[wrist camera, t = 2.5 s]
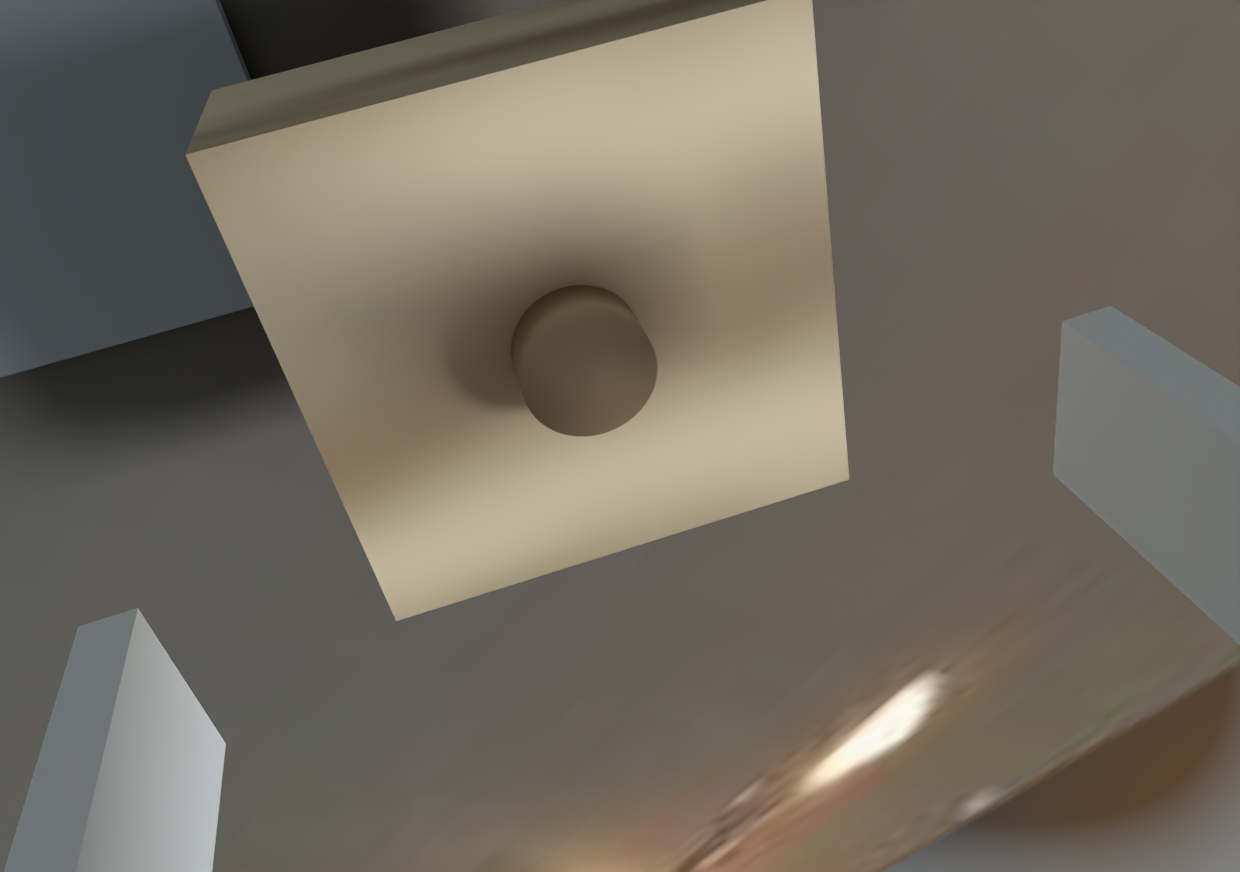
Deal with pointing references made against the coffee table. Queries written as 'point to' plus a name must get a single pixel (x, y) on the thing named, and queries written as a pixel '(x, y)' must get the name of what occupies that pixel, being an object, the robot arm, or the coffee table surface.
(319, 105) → the lid
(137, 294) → the mat
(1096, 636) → the coffee table surface
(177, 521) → the coffee table surface
